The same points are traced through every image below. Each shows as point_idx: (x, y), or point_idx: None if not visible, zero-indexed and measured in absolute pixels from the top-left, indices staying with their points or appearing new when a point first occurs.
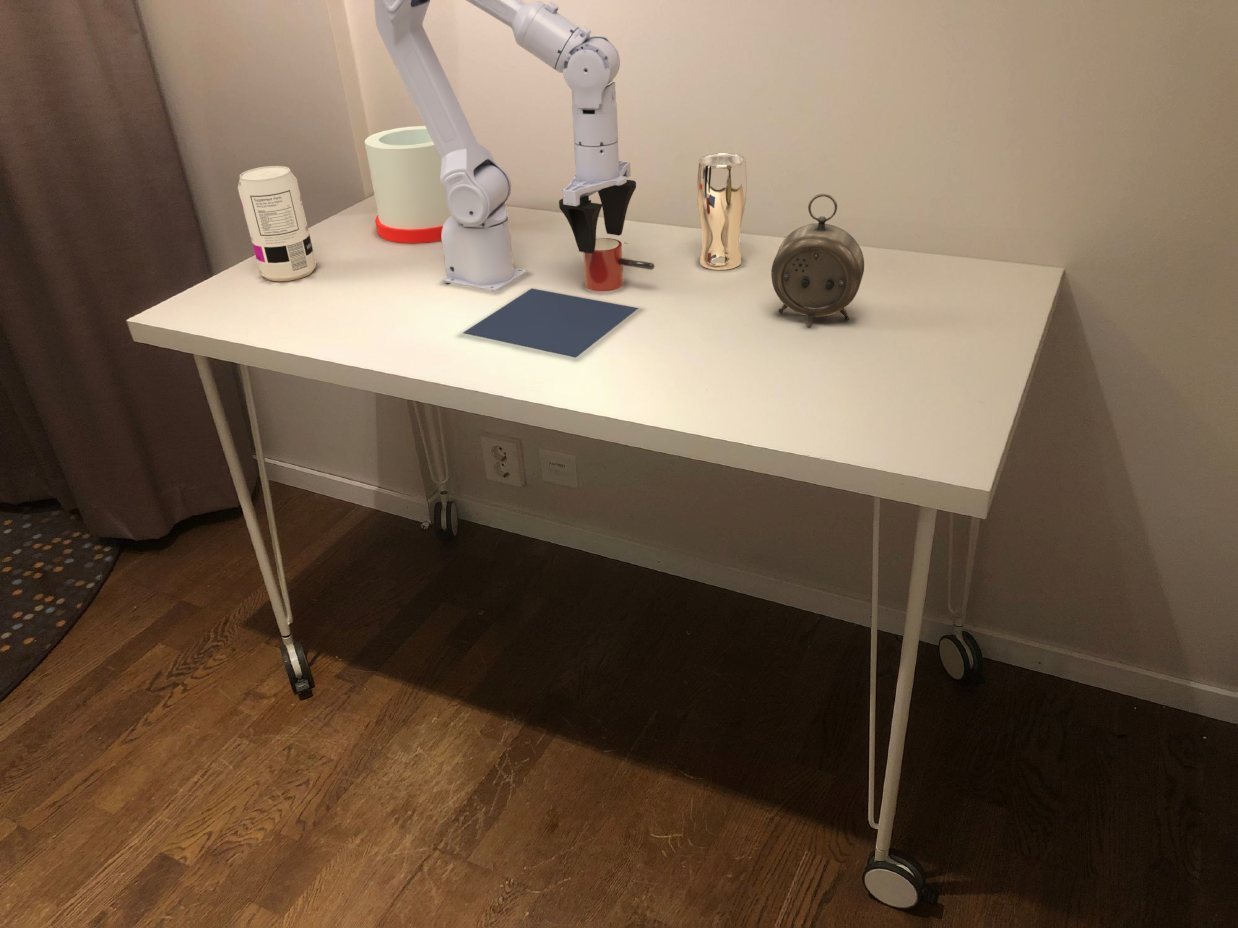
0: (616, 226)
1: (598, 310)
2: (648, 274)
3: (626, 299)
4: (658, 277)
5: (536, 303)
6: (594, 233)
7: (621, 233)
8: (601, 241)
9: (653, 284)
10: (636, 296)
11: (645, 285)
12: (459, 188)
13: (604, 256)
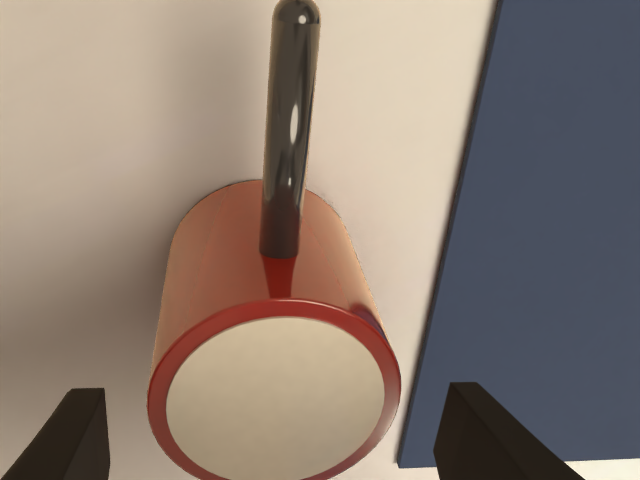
0: (92, 455)
1: (561, 155)
2: (18, 132)
3: (381, 98)
4: (28, 59)
5: (527, 393)
6: (545, 468)
7: (75, 392)
8: (233, 432)
9: (140, 44)
10: (331, 65)
11: (173, 82)
12: None
13: (382, 325)
